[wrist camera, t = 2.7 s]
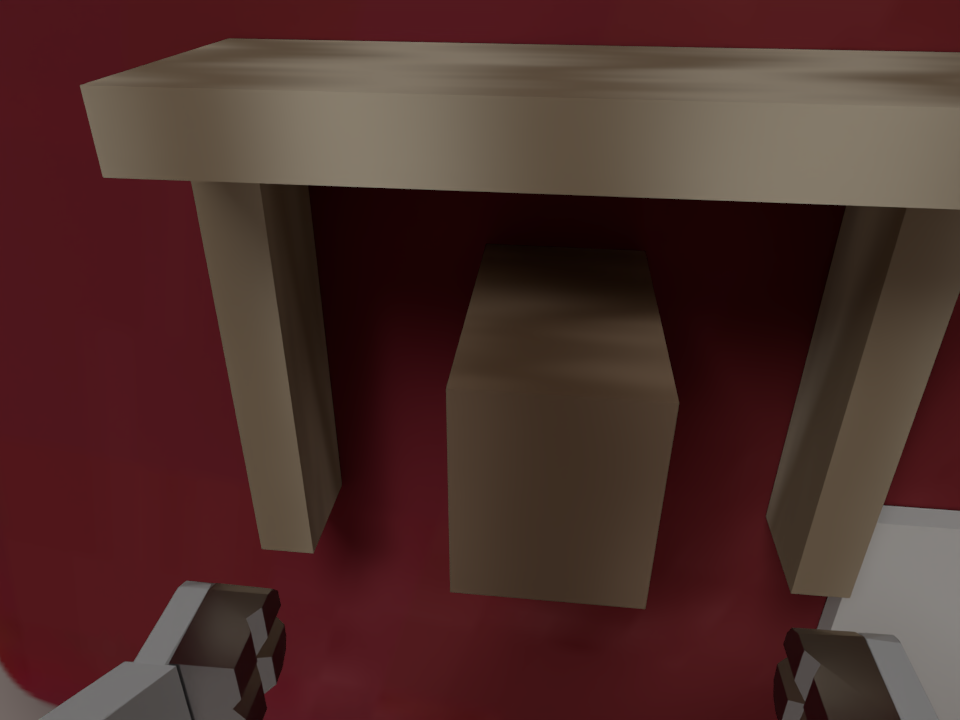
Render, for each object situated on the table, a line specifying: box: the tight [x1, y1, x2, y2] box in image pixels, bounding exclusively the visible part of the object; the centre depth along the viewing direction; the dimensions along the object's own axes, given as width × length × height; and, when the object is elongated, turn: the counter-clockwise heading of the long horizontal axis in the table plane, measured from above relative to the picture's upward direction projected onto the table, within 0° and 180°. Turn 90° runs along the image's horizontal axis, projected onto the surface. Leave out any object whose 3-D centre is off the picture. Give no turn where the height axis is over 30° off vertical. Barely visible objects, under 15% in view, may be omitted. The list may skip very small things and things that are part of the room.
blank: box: [446, 244, 679, 609], centre depth 17 cm, size 4×5×7 cm
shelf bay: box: [80, 39, 960, 598], centre depth 17 cm, size 16×13×6 cm
